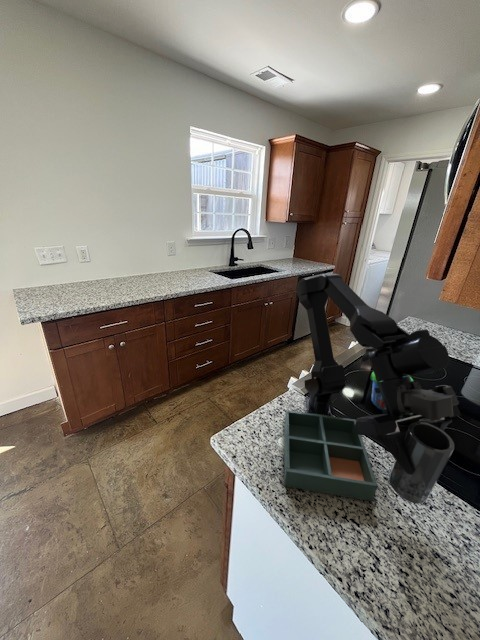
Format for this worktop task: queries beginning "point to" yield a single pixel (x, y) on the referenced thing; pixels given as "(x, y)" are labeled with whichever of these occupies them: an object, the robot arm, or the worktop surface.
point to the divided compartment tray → (326, 456)
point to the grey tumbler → (422, 462)
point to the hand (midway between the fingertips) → (425, 469)
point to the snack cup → (377, 394)
